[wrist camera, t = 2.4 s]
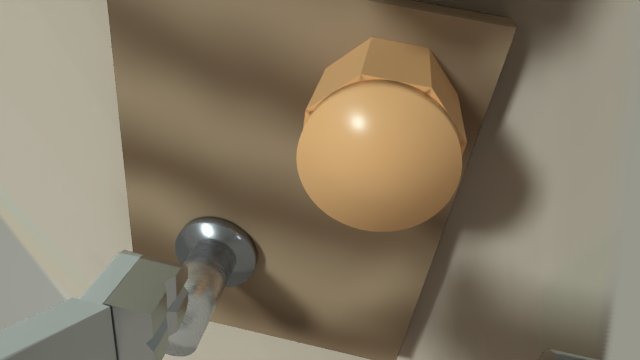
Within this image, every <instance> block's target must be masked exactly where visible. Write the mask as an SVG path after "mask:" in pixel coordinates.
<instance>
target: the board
mask: <svg viewBox="0 0 640 360" xmlns="http://www.w3.org/2000/svg"><path fill="white" fill-rule="evenodd" d="M107 4H108V14H109V23H110V33H111V43H112V52H113V62H114V72H115V81H116V91H117V101H118V110H119V120H120V130H121V139H122V149H123V159H124V168H125V178H126V188H127V197H128V207H129V217H130V226H131V236H132V246H133V252H134V253H138V254H142V255H148V256H151V257H155V258H159V259H163V260H167V261H171V262H175V263H179V264H181V263H180V262H179V260H178V258H177V255H176V252H175V242H176V239H177V236H178V235H179V233H180V232H181V230H182V229H183V227H184V226H185V225H186V224H187V223H188V222H189V221H191V220H193V219H195V218H198V217H203V216H214V217H220V218H224V219H227V220H229V221H231V222H233V223H235V224H237V225H238V226H240V227H241V228H242V229H244V230H245V231H246V232H247V233H248V234H249V235H250V237H251V238H252V239H253V241H254V243H255V245H256V248H257V252H258V260H257V264H256V266H255V269H254V271H253V273H252V275H251V277H250V278H249V279H248V280H247V281H245V282H244V283H242V284H240V285H237V286H232V287H225V289H224V291H223V293H222V295H221V297H220V299H219V301H218V303H217V306H216V308H215V310H214V312H213V314H212V316H211V318H210V320H209V321H212V322H216V323H220V324H224V325H228V326H233V327H237V328H241V329H245V330H249V331H254V332H258V333H262V334H266V335H270V336H275V337H279V338H283V339H287V340H292V341H296V342H300V343H304V344H308V345H313V346H317V347H321V348H325V349H329V350H334V351H338V352H342V353H346V354H350V355H355V356H359V357H363V358H367V359H371V360H396V359H397V357H398V354H399V351H400V348H401V346H402V343H403V340H404V337H405V335H406V332H407V329H408V326H409V324H410V321H411V318H412V315H413V313H414V310H415V307H416V304H417V302H418V299H419V296H420V293H421V291H422V288H423V285H424V282H425V280H426V277H427V274H428V271H429V268H430V266H431V263H432V260H433V257H434V255H435V252H436V249H437V246H438V244H439V241H440V238H441V235H442V233H443V230H444V227H445V224H446V222H447V219H448V216H449V213H450V211H451V208H452V205H453V202H454V200H455V197H456V194H457V191H458V189H459V186H460V183H461V180H462V178H463V175H464V172H465V169H466V167H467V164H468V161H469V158H470V156H471V153H472V150H473V147H474V145H475V142H476V139H477V136H478V134H479V131H480V128H481V125H482V122H483V120H484V117H485V114H486V111H487V109H488V106H489V103H490V100H491V98H492V95H493V92H494V89H495V87H496V84H497V81H498V78H499V76H500V73H501V70H502V67H503V65H504V62H505V59H506V56H507V54H508V51H509V48H510V45H511V43H512V40H513V37H514V34H515V32H516V29H517V28H516V26H515V25H514V23H513V22H512V20H511V19H510V18H506V17H501V16H495V15H490V14H484V13H479V12H474V11H468V10H463V9H457V8H452V7H446V6H441V5H436V4H430V3H425V2H419V1H414V0H107ZM371 37H373V38H379V39H384V40H389V41H394V42H400V43H405V44H410V45H415V46H421V47H426V48H429V49H430V51H431V52H432V54H433V55H434V57H435V59H436V60H437V62H438V63H439V65H440V67H441V68H442V70H443V71H444V73H445V75H446V76H447V78H448V79H449V81H450V83H451V84H452V86H453V87H454V89H455V91H456V92H457V94H458V98H459V103H460V108H461V113H462V119H463V124H464V129H465V135H466V140H467V144H466V147H465V150H464V152H463V155H462V171H461V177H460V180H459V184H458V186H457V188H456V191H455V193H454V194H453V196H452V197H451V199H450V201H449V202H448V203H447V204H446V205H445V206H444V208H442V209H441V210H440V211H439V212H438V213H437V214H436V215H434V216H433V217H431V218H430V219H428V220H427V221H425V222H423V223H421V224H419V225H416V226H413V227H411V228H407V229H403V230H399V231H392V232H373V231H366V230H360V229H357V228H353V227H350V226H348V225H345V224H343V223H341V222H339V221H337V220H335V219H333V218H332V217H330V216H329V215H327V214H326V213H325V212H323V211H322V210H321V209H320V208H319V207H318V206H317V205H316V204H315V203H314V202H313V201H312V199H311V198H310V197H309V195H308V194H307V192H306V191H305V189H304V187H303V185H302V183H301V180H300V177H299V174H298V169H297V161H296V156H297V147H298V142H299V139H300V136H301V133H302V131H303V125H304V118H305V110H306V108H307V106H308V104H309V102H310V100H311V98H312V96H313V94H314V91H315V89H316V87H317V85H318V83H319V81H320V79H321V77H322V75H323V73H324V71H325V69H326V68H327V67H328V66H330V65H331V64H333V63H334V62H336V61H337V60H339V59H340V58H342V57H343V56H345V55H346V54H348V53H349V52H351V51H352V50H353V49H355V48H356V47H358V46H359V45H361V44H362V43H364V42H365V41H367V40H368V39H370V38H371Z"/></svg>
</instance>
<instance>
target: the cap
mask: <svg viewBox="0 0 640 360" xmlns="http://www.w3.org/2000/svg"><path fill="white" fill-rule="evenodd" d="M466 144H467V140H466V135H465V129H464V124H463V119H462V113H461V108H460V103H459V98H458V94H457V92H456V91H455V89H454V87H453V86H452V84H451V83H450V81H449V79H448V78H447V76H446V75H445V73H444V71H443V70H442V68H441V67H440V65H439V63H438V62H437V60H436V59H435V57H434V55H433V54H432V52H431V51H430V49H429V48H426V47H421V46H415V45H410V44H405V43H400V42H394V41H389V40H384V39H379V38H373V37H371V38H370V39H368V40H367V41H365V42H364V43H362V44H361V45H359V46H358V47H356V48H355V49H353V50H352V51H351V52H349V53H348V54H346V55H345V56H343V57H342V58H340V59H339V60H337V61H336V62H334V63H333V64H331V65H330V66H328V67H327V68H326V69H325V71H324V73H323V75H322V77H321V79H320V81H319V83H318V85H317V87H316V89H315V91H314V94H313V96H312V98H311V100H310V102H309V104H308V106H307V108H306V110H305V118H304V125H303V131H302V133H301V136H300V139H299V142H298V147H297V156H296V161H297V169H298V174H299V177H300V180H301V183H302V185H303V187H304V189H305V191H306V192H307V194H308V195H309V197H310V198H311V199H312V201H313V202H314V203H315V204H316V205H317V206H318V207H319V208H320V209H321V210H322V211H323V212H325V213H326V214H327V215H329V216H330V217H332V218H333V219H335V220H337V221H339V222H341V223H343V224H345V225H348V226H350V227H353V228H357V229H360V230H366V231H373V232H392V231H399V230H403V229H407V228H411V227H413V226H416V225H419V224H421V223H423V222H425V221H427V220H428V219H430V218H431V217H433V216H434V215H436V214H437V213H438V212H439V211H440V210H441V209H442V208H444V206H445V205H446V204H447V203H448V202H449V201H450V199H451V197H452V196H453V194H454V193H455V191H456V188H457V186H458V184H459V180H460V177H461V171H462V155H463V152H464V150H465V147H466Z"/></svg>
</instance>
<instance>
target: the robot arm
mask: <svg viewBox="0 0 640 360" xmlns="http://www.w3.org/2000/svg"><path fill="white" fill-rule="evenodd" d="M187 279H188V267H187V266H185V265H183V264H179V263H175V262H171V261H167V260H163V259H159V258H155V257H151V256H148V255H142V254H138V253H134V252H130V251H127V250H123V251H122V252H120V253H118V254H117V255H116V256H115V258H114V259H113V260H112V261H111V262H110V263H109V265H108V266H107V267H106V268H105V269H104V271H103V272H102V273H101V274H100V275H99V277H98V278H97V279H96V280H95V281H94V283H93V284H92V285H91V286H90V287H89V288H88V290H87V291H86V292H85V293H84V294H83V296H82V297H81V298H80V299H78V298H71V299H69V300H67V301H65V302H62V303H60V304H58V305H56V306H53V307H52V308H49V309H47V310H45V311H42V312H40V313H38V314H35V315H33V316H31V317H29V318H27V319H24V320H22V321H20V322H18V323H16V324H14V325H11V326H9V327H6V328H4V329H2V330H0V360H162V359H163V357H164V355H165V353H166V351H167V350H168V348H169V347H168V337H169V336H171V335H173V334H174V333H176V332H177V331H178V329H179V327H180V325H181V324H182V322H183V319H184V316H185V313H186V310H187V305H188V291H187V290H186V288H185V287H184V284H185V283H186V281H187ZM539 360H598V359H593V358H589V357H584V356H580V355H575V354H571V353H566V352H562V351H557V350H552V349H547V350H546V351H544V352H543V353H542V355H541V357H540V358H539Z"/></svg>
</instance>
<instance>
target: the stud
mask: <svg viewBox="0 0 640 360" xmlns="http://www.w3.org/2000/svg"><path fill="white" fill-rule="evenodd" d="M175 252H176V255H177V258H178V260H179V262H180V263H181V264H183V265H185V266H187V267H188V279H187V281H186V283H185V284H184V287H185V288H186V290H187V291H188V305H187V310H186V313H185V316H184V319H183V322H182V324H181V325H180V327H179V329H178V331H177V332H176V333H174V334H173V335H171V336H169V337H168V347H169V348H168V350H167V351H166V354H169V355H173V356H187V355H190V354H192V353H193V352H194V351H195V350H196V348H197V346H198V344H199V342H200V339H201V337H202V335H203V333H204V331H205V329H206V327H207V325H208V323H209V320H210V318H211V316H212V314H213V312H214V310H215V308H216V306H217V303H218V301H219V299H220V297H221V295H222V293H223V291H224V289H225V287H232V286H237V285H240V284H242V283H244V282H245V281H247V280H248V279H249V278H250V277H251V275H252V273H253V271H254V269H255V266H256V264H257V260H258V252H257V248H256V245H255V243H254V241H253V239H252V238H251V237H250V235H249V234H248V233H247V232H246V231H245V230H244V229H242V228H241V227H240V226H238V225H237V224H235V223H233V222H231V221H229V220H227V219H224V218H220V217H214V216H203V217H198V218H195V219H193V220H191V221H189V222H188V223H187V224H186V225H185V226H184V227H183V229H182V230H181V232H180V233H179V235H178V236H177V239H176V242H175Z"/></svg>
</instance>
